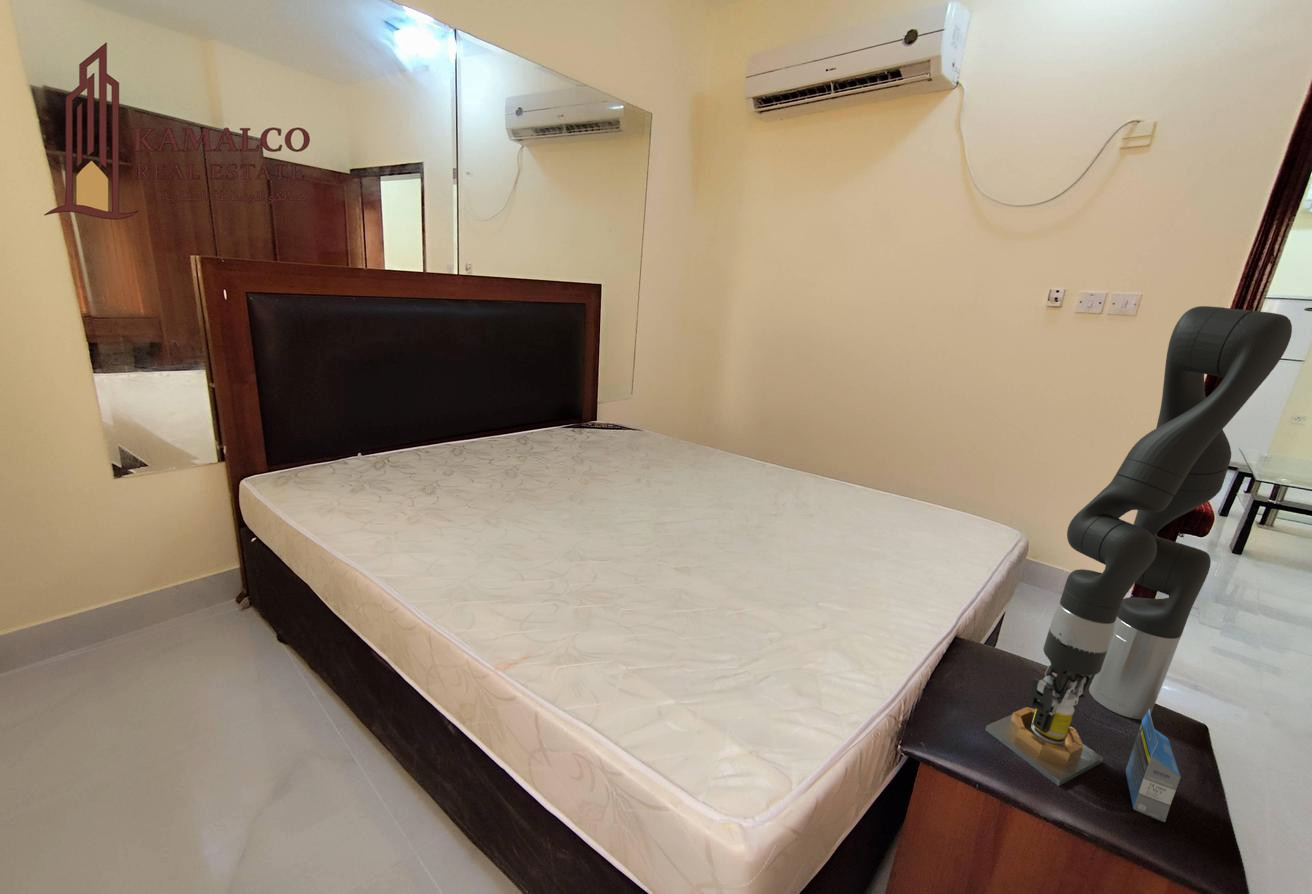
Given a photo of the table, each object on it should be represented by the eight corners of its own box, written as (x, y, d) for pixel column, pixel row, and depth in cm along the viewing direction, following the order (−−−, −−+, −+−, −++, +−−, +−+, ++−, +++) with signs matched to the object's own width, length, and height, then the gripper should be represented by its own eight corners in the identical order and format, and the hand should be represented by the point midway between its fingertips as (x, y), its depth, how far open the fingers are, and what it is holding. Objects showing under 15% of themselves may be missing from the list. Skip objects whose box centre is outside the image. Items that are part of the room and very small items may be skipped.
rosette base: (1027, 711, 100) (1032, 695, 99) (1101, 762, 90) (1107, 745, 89) (985, 729, 95) (990, 713, 94) (1058, 786, 85) (1064, 768, 84)
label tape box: (1165, 824, 80) (1194, 756, 76) (1129, 808, 82) (1156, 742, 78) (1154, 782, 87) (1180, 718, 83) (1121, 769, 89) (1145, 706, 85)
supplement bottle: (1070, 747, 89) (1085, 704, 86) (1038, 741, 90) (1052, 699, 87) (1055, 726, 93) (1069, 684, 91) (1025, 720, 94) (1038, 679, 92)
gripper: (1078, 614, 93) (1051, 698, 97) (1027, 631, 86) (1000, 720, 91) (1130, 640, 86) (1098, 728, 91) (1079, 660, 80) (1047, 754, 85)
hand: (1049, 723), depth 91 cm, fingers closed on supplement bottle, 4 cm apart
